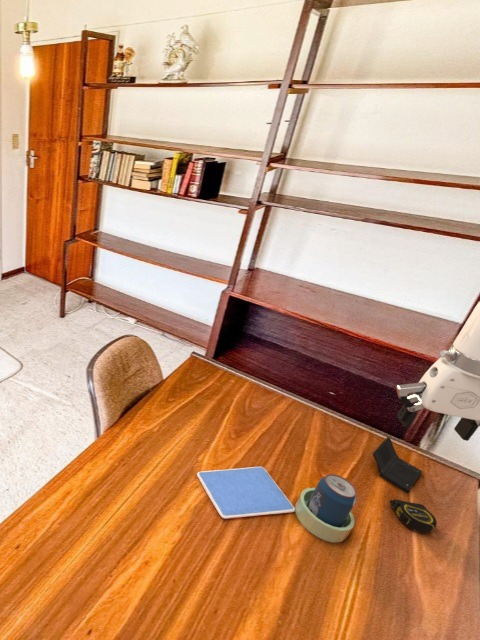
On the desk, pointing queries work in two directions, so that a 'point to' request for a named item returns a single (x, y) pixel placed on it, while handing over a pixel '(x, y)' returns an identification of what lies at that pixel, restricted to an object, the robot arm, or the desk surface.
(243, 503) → the tablet
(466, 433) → the robot arm
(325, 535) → the bowl
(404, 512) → the tape measure
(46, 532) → the desk surface
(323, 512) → the soda can
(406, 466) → the handheld gaming console
